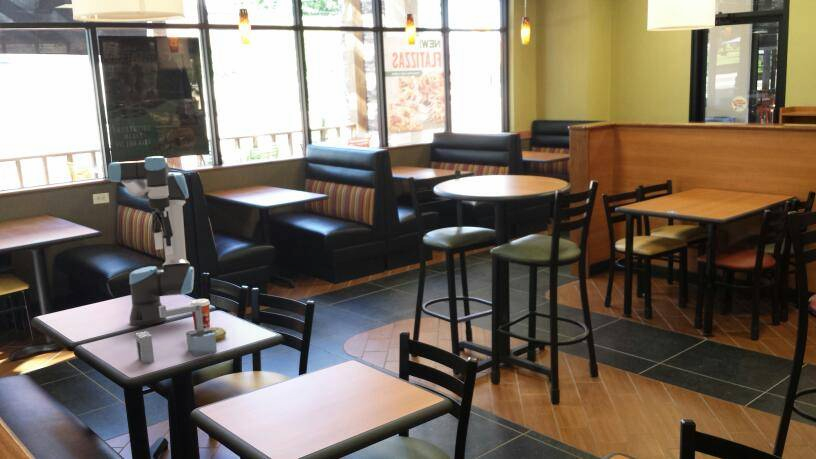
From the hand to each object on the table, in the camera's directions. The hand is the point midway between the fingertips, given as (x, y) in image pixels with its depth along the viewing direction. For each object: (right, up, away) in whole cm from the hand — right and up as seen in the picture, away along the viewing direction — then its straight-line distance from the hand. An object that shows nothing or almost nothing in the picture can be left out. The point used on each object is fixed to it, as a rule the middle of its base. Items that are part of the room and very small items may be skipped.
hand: (164, 251), depth 284 cm
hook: (-2, -40, -13) cm, 42 cm away
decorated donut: (+16, -35, +10) cm, 40 cm away
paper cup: (+11, -34, +16) cm, 39 cm away
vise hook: (+12, -38, -7) cm, 40 cm away
